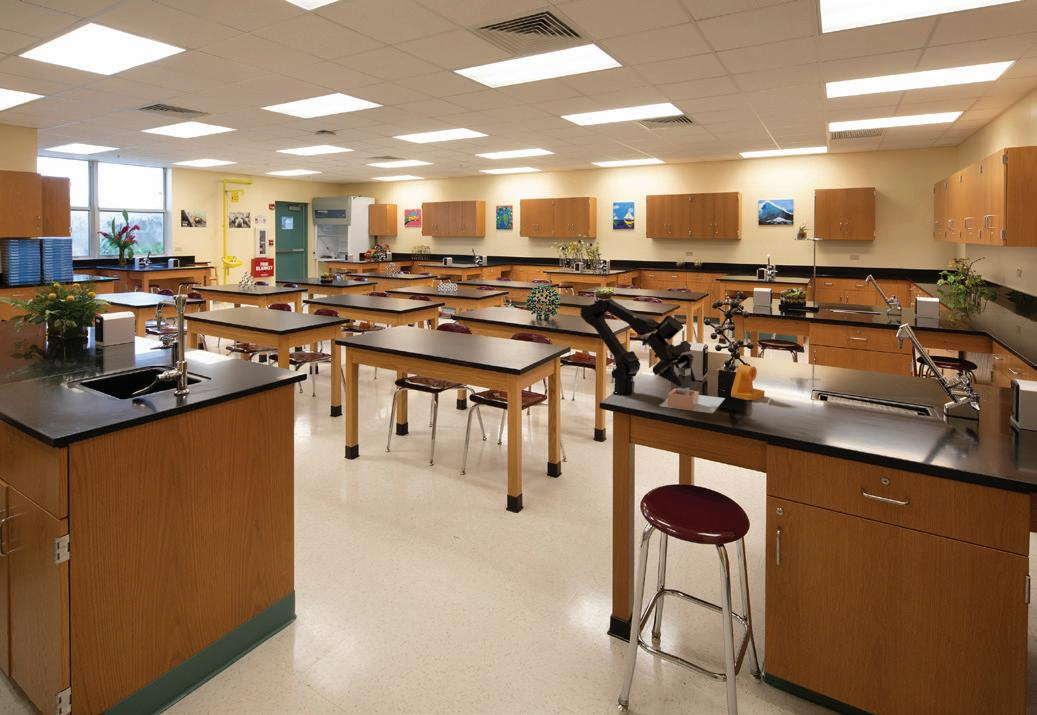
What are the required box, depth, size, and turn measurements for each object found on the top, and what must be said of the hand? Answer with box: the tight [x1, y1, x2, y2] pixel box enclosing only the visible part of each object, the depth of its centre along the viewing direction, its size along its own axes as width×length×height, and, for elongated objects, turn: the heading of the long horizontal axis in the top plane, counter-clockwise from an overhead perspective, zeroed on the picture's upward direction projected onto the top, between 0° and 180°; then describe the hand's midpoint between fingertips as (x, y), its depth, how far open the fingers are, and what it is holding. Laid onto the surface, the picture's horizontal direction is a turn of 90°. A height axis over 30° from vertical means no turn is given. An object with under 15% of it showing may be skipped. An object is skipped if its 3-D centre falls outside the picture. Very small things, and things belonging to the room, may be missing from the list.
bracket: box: [730, 364, 766, 401], centre depth 215 cm, size 11×7×12 cm, turn 127°
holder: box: [667, 388, 700, 411], centre depth 205 cm, size 8×8×4 cm
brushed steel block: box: [676, 367, 692, 396], centre depth 204 cm, size 4×4×12 cm
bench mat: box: [658, 394, 726, 414], centre depth 209 cm, size 18×22×1 cm
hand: (687, 383), depth 203 cm, fingers open, 9 cm apart
